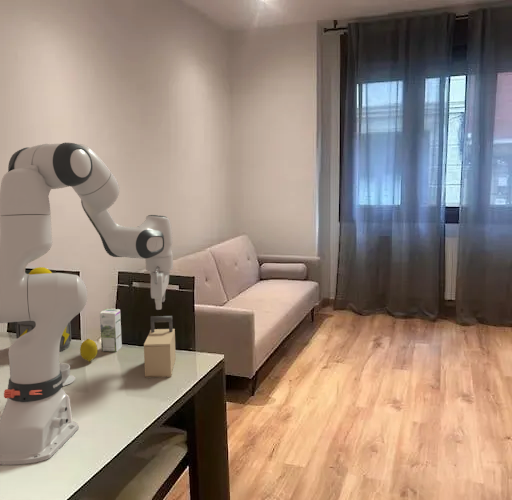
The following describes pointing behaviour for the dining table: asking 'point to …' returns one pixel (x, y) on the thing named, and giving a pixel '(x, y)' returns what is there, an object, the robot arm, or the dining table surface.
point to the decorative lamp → (27, 326)
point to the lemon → (88, 350)
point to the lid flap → (160, 332)
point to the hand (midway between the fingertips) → (160, 305)
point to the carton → (159, 360)
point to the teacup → (66, 374)
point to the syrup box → (110, 330)
